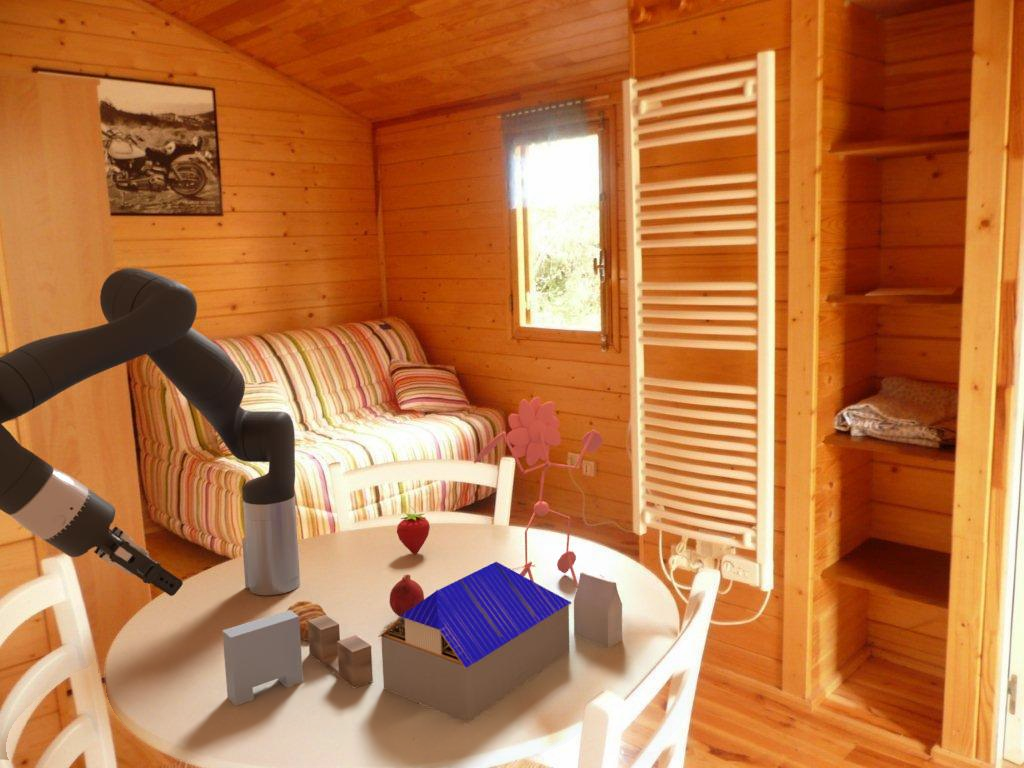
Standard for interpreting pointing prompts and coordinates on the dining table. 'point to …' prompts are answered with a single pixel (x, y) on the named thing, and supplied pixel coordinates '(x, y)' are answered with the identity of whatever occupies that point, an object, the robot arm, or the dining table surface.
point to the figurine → (533, 441)
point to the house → (474, 642)
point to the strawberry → (413, 531)
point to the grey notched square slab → (262, 654)
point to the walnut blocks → (340, 651)
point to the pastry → (306, 615)
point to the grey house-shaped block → (597, 611)
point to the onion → (405, 595)
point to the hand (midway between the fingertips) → (166, 580)
